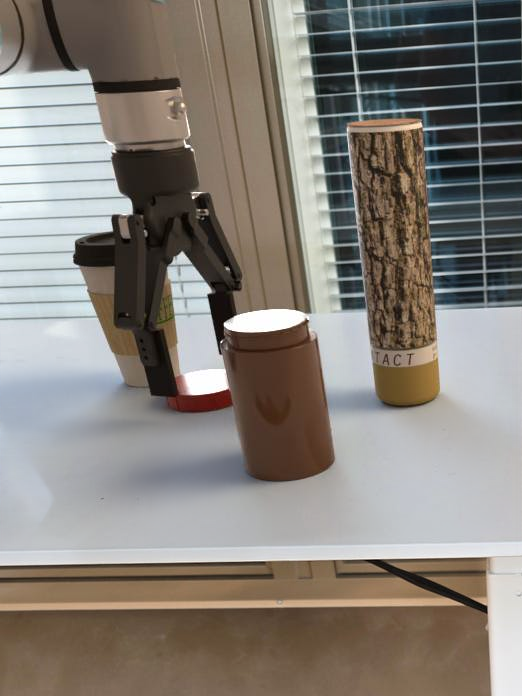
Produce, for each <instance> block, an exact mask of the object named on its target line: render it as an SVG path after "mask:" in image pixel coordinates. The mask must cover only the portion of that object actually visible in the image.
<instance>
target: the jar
mask: <svg viewBox="0 0 522 696" xmlns="http://www.w3.org/2000/svg"><path fill="white" fill-rule="evenodd" d="M309 323H310V316H308V315H307V314H306V313H304V312H302V311H299V310H292V309H266V310H257V311H251V312H246V313H241V314H239V315H237V316H236V317H233V318H231V319H229V320H227V321H226V322H225V323H224V329H225V330H224V335H225V337H226V338H225V339H223V340H222V341H221V343H220V347H221V352H222V355H221V356H222V361H223V366H224V370H225V371H226V376H227V381H228V386H229V391H230V396H231V400H232V405H231V406H232V409H233V414H234V420H235V424H236V425H235V426H236V429H237V433H238V438H239V443H240V448H241V454H242V458H243V463H244V468H245V471H246V472H247V474H248V475H250V476H252V477H253V478H255V479H260V480H263V481H270V482H271V481H272V482H286V481H296V480H301V479H306V478H309V477H313V476H315V475H318V474H320V473H323V472H324V471H326V470H328V469H329V468H330V467H331V466H333V464H334V463H335V461H336V455H335V454H336V453H335V448H334V439H333V433H332V427H331V420H330V413H329V412H330V411H329V406H328V399H327V392H326V386H325V385H326V384H325V379H324V371H323V364H322V359H321V358H322V357H321V351H320V344H319V337H318V336H319V335H318V333H317V332H316V330H313V329H312V328H310V325H309Z"/></svg>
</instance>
